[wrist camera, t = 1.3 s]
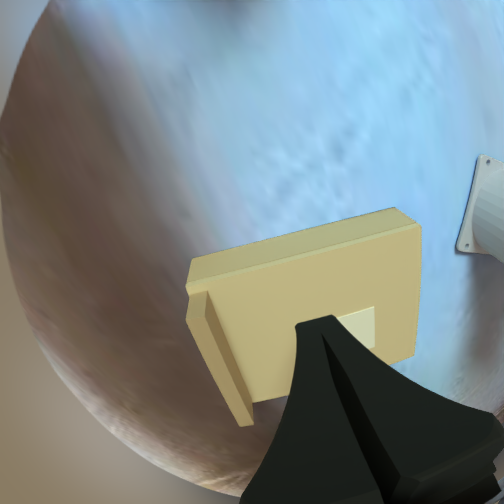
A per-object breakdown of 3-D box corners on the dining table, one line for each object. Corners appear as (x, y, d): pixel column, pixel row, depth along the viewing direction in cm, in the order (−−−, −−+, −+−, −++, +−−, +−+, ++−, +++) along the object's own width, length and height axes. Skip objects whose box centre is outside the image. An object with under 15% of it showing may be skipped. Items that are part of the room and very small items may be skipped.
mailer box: (394, 207, 20) (416, 222, 17) (396, 328, 24) (410, 350, 22) (192, 258, 20) (186, 282, 18) (237, 372, 25) (238, 399, 22)
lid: (417, 222, 17) (443, 241, 14) (411, 351, 22) (427, 376, 19) (186, 282, 18) (180, 312, 15) (239, 400, 22) (240, 430, 20)
